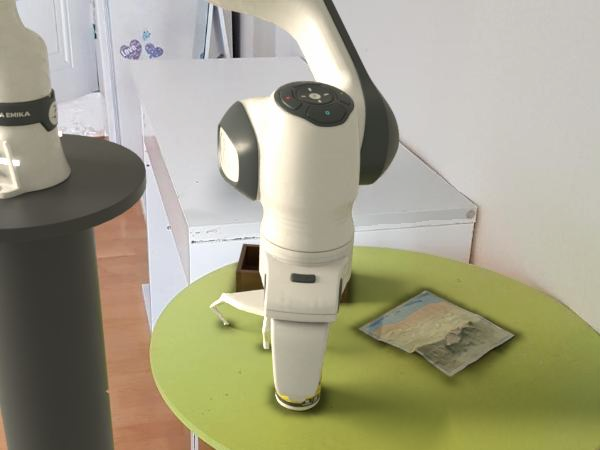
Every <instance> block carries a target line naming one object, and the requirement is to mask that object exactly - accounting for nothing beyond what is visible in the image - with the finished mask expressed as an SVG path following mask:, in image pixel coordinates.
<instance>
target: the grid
mask: <svg viewBox="0 0 600 450" xmlns="http://www.w3.org/2000/svg"><path fill="white" fill-rule="evenodd" d="M259 255H260V244H256V243H255V244H254V243H242V246H241V250H240V253H239V258H238V262H237V265H236V270H235V293H238V292H246V291H254V290H262V289H264V286H263V283H262V278H261V275H260V272H259ZM348 291H349V281H348V282H347V284H346V286H345V289H344V291H343V293H342V295H341V299H340V303H347V302H348V301H347V300H348Z"/></svg>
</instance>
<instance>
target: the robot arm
mask: <svg viewBox="0 0 600 450" xmlns="http://www.w3.org/2000/svg"><path fill="white" fill-rule="evenodd" d="M204 2H206V3H208V4H210V5H212V6H215V7H218V8H221V9H223V10H227V11H230V12H231V11H232V12H235V13H239V14H243V15H247V16H251V17H254V18H257V19H259V20H262V21H265V22H268V23H270V24H273V25H274V26H277V27H279V28H280V29H282V30H284V31H286V33H288V34H289V35H290V36H291V38H293V39H294V40H295V41H296V43H297V44H298V46H299V48H300V50H301V52H302V54H303V57H304V60H305V61H306V63H307V66H308V67H309V70H310V72H311V74H312V76H313V78H314V80H315V81H314V80H298V81H291V82H288V83H284V84H282V85H280V86H279V87H277V88H276V89H274V91H273V92H272V93H271V94H270V95H264V96H255V97H254V96H253V97H249V98H245V99H241V100H236V101H235V102H234V103H232V105H231V106H230V107H229V108H228V109H227V110H226V111H225V113H224V115H223V116H222V117H221V119H220V120H219V123H218V125H217V139H216V140H217V163H218V171H219V174H220V175H221V177H222V179H223V180H224V181H225V182H226V183H228V184H229V185H230V186H231V187H233V189H235V190H237V191H238V192H239V193H240V194H242V195H243V196H245V197H246V198H247V199H249V200H250V201H253V202H254V201H257V202H259V203H260V204H261V206H262V211H263V213H262V218H261V222H260V226H259V245H260V255H259V272H260V275H261V278H262V283H263V286H264V316H265V317H266V318H271V319H270V344H271V345H270V346H271V360H272V372H273V383H274V388H275V392H276V391H277V393H278V394H279V395H282V396H288V399H289V400H290V401H295V402H304V401H305V400H306V398H310V397H313V396H314V395H315V394H316V392H317V389H318V386H319V382H320V377H321V372H322V373H323V366H324V361H325V356H326V350H327V345H328V339H329V335H330V334H329V333H330V328H331V323H336V322H337V320H338V315H339V311H340V305H341V304H340V303H341V302H340V299H341V295H342V293H343V291H344V289H345V286H346V284H347V282H348V283H349V281H350V278H351V275H352V267H353V265H352V264H353V255H354V244H355V231H356V230H355V229H356V227H355V222H354V217H353V207H354V203H355V202H356V199H357V196H358V193H359V187H360V186H370V185H373V184H374V183H375V182H377V181H378V180H379V179H380V178H381V177H382V176H383V175H384V174H385V173H386V171H387V170H388V169H389V167H390V166H391V164H392V163H393V161H394V159H395V157H396V155H397V152H398V150H399V146H400V129H399V125H398V121H397V118H396V116H395V113H394V111H393V109H392V108H391V106H390V104H389V103H388V101H387V99H386V98H385V97H384V95H383V94H382V93H381V91H380V90H379V88H378V87H377V86H376V84H375V82H374V81H373V80H372V78H371V75H369V73H368V71H367V69H366V67H365V65H364V62H363V61H362V59H361V57H360V55H359V53H358V51H357V48H356V46H355V44H354V42H353V40H352V38H351V36H350V34H349V32H348V29H347V28H346V26H345V24H344V22H343V20H342V18H341V16H340V14H339V12H338V9H337V7H336V5H335V2H333V0H204ZM58 123H59V110H58V104H57V99H56V92H55V90H54V88H52V80H51V72H50V62H49V53H48V46H47V44H46V41H45V40H44V39H43V37H42V36H41V35H40V34H38V33H37V32H36V31H34V30H33V29H30V28H28V27H26V26H25V24H23V22H22V19H21V17H20V14H19V11H18V8H17V0H0V199H7V198H12V197H15V196H17V195H20V194H23V193H26V192H32V191H37V190H42V189H46V188H49V187H52V186H54V185H57V184H59V183H61V182H63V181H64V180H66V179H67V178H68V177H69V175H70V173H71V169H70V167H69V164H68V162H67V160H66V157H65V154H64V152H63V148H62V145H61V141H60V137H59V136H62V134H63V132H62V131H61V130H59V129H58ZM264 316H263V317H264Z"/></svg>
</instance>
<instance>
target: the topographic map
mask: <svg viewBox="0 0 600 450" xmlns="http://www.w3.org/2000/svg"><path fill="white" fill-rule="evenodd" d="M358 330H360V331H361V332H362V333H364V334H366V335H367V336H370V337H371V338H372V339H375V340H376V341H379V342H380V341H381V342H383V343H386V344H389V345H391V346H393V347H396V348H398V349H400V350H402V351H403V352H406V353H409V354H411V353H414V352H416V353H418V354H419V355H421V356H422V357H423V358H424V359H425V360H426V361H427V362H428V363H430V364H431V365H433V366H434V367H435V368H436V369H437V370H439V371H440V372H442V374H445V375H446V376H448V377H450V378H452V377H453V376H455V375H456V374H457V373H459V372H461V371H462V370H464V369H465V368H467V366H469V365H470V364H472V363H474V362H476V361H478V360H479V359H480V358H482V357H483V356H485V355H486V354H487V353H488V352H489V351H491V350H493V349H494V348H497V347H498V346H500V345H503V344H504V343H506V342H507V341H509V340H510V339H512V338H513V337H514V336H515V334H513V333H511V332H510V331H508V330H507V329H504V328H502V327H500V326H499V325H496V324H495V323H493V322H492V321H490V320H488V319H486V318H485V317H483V316H481V315H480V314H476V313H475V312H472V311H469V310H467V309H464V308H463V307H460V306H459V305H456V304H454V303H452V302H450V301H448V300H446V299H445V298H442V297H440V296H438V295H436V294H435V293H432V292H431V291H429V290H423V291H422V292H420V293H419V294H416V295H415V296H413V297H412V298H410V299H408V300H406V301H405V302H403V303H401V304H398V305H397V306H396V307H393V308H392V309H390V310H389V311H387V312H385V313H384V314H382V315H380V316H378V317H376V318H375V319H372V320H371V321H370V322H368V323H365V324H364V325H363V326H360V327H358Z"/></svg>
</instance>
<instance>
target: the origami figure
mask: <svg viewBox="0 0 600 450" xmlns="http://www.w3.org/2000/svg"><path fill="white" fill-rule="evenodd" d="M226 303H227V304H228V305H231V306H232V307H234V308H236V309H238V310H240V311H243V312H247V313H249V314H254V315H257V316H261V317H263V323H262V341H263V349H265V350H270V342H269V341H270V330H271V318H266V317H265V316H264V289H262V290H254V291H246V292H238V293H236V292H230V293H228V292H222V294H221V295H220V297H219V299H217V300H215V301H214V302H213V303H211V304H210V305H209V309H210V310H211V311H212V312H213V313H214V314H215V315H216V316H217V317H218V318H219V319H220V321H222V323H223V325H224V326H229V324H230V323H229V322H228V321H227V319H226V318H225V316H223V314H222V313H221V312H220V311H219V309H218V308H217V307H220V306H221V305H223V304H226Z"/></svg>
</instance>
